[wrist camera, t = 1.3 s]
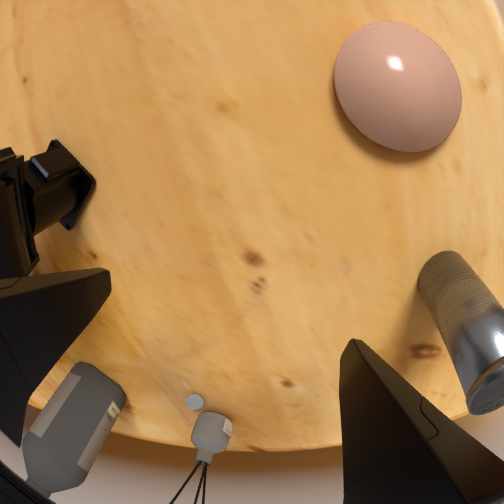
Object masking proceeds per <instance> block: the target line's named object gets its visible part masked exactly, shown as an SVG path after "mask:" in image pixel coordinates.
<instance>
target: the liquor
mask: <svg viewBox="0 0 504 504" xmlns="http://www.w3.org/2000/svg"><path fill="white" fill-rule="evenodd" d="M125 403H126V395H125V393H124V392H123V390H122V388H121V387H120V385H119V384H117V383H116V382H114V381H113V380H112V379H110V378H109V377H107V376H106V375H105V374H103V373H102V372H101V371H99V370H98V369H97V368H96V367H94V366H93V365H90V364H87V363H83V362H79V363H76V364H75V365H74V367H73V368H72V369H71V371H70V372H69V373H68V375H67V376H66V377H65V379H64V380H63V382H62V383H61V384H60V386H59V387H58V388H57V390H56V391H55V393H54V394H53V396H52V397H51V398H50V400H49V401H48V403H47V404H46V406H45V407H44V408H43V410H42V411H41V413H40V414H39V416H38V418H37V419H36V420H35V422H34V423H33V425H32V426H31V428H30V429H29V431H28V433H27V434H26V436H25V437H24V439H23V444H22V450H23V455H24V460H25V465H26V470H27V474H28V478H27V480H26V482H27V483H28V484H29V485H31V486H32V487H33V488H35V489H36V490H37V491H39V492H40V493H41V494H43V495H44V496H46V497H47V498H48V497H50V495H51V493H54V492H59V491H63V490H66V489H71V488H74V487H78V486H79V485H80V484H82V483H83V482H84V481H85V479H86V477H87V475H88V473H89V471H90V469H91V467H92V465H93V463H94V461H95V459H96V457H97V455H98V453H99V451H100V449H101V447H102V445H103V443H104V442H105V440H106V438H107V436H108V434H109V432H110V430H111V428H112V427H113V425H114V423H115V421H116V419H117V417H118V415H119V414H120V412H121V410H122V408H123V406H124V404H125Z"/></svg>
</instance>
